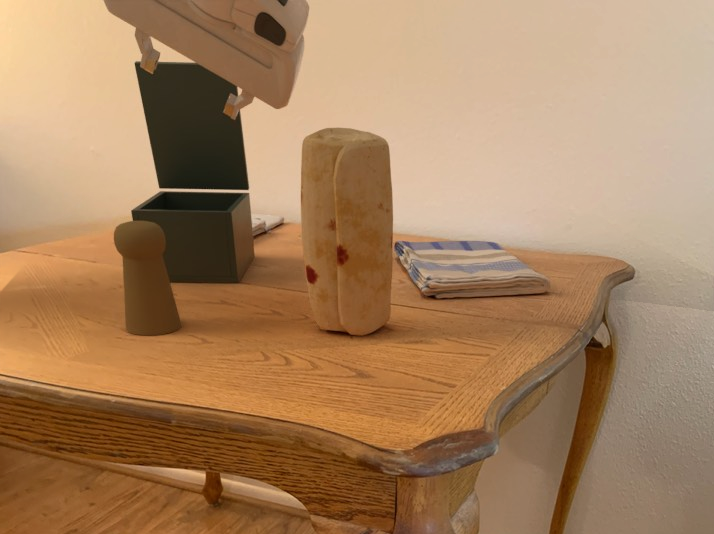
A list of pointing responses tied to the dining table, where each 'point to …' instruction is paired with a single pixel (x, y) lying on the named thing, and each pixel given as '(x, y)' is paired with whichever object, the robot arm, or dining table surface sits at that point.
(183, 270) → the bin
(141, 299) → the cork
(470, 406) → the dining table surface
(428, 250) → the dish towel
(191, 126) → the bin lid
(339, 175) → the food model
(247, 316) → the dining table surface
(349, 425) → the dining table surface
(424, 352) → the dining table surface
